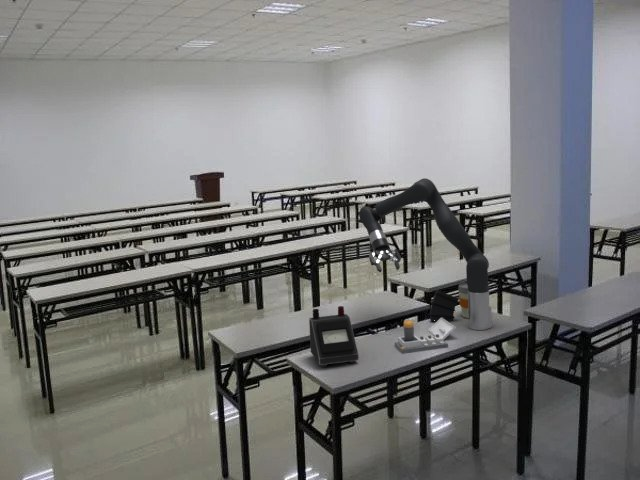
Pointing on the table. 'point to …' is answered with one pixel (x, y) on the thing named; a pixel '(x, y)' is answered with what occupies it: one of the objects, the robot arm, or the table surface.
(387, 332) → the table surface
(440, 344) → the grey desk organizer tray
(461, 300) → the reusable coffee cup
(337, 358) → the voltmeter
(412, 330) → the lockout plug
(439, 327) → the light switch
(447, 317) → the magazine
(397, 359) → the table surface
